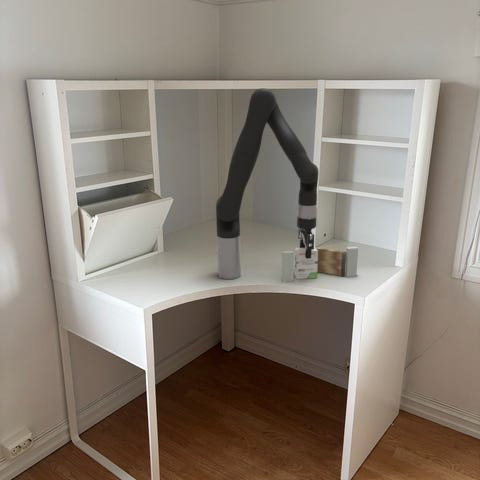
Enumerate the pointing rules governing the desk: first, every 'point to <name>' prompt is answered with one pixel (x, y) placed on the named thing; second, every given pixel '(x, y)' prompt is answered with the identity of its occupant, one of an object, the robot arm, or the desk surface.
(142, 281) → the desk surface
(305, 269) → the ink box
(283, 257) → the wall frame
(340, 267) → the brown patterned panel
